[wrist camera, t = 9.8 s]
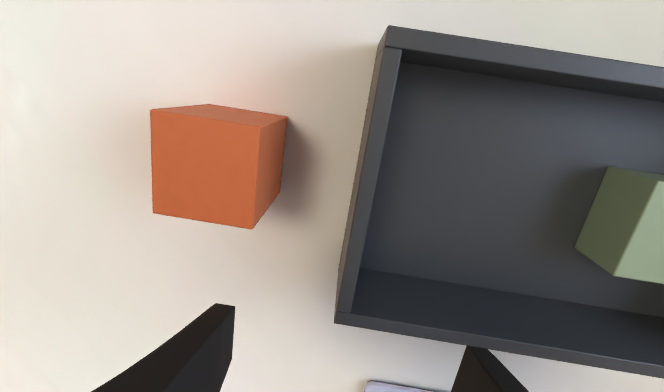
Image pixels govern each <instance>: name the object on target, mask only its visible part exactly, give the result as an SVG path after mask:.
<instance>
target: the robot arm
mask: <svg viewBox="0 0 664 392" xmlns="http://www.w3.org/2000/svg"><path fill="white" fill-rule="evenodd" d="M234 318H235V306H230V305H224V304H218V303H216V304H214V305H213V306H211V307H210V308H209V309H207V310H206V311H205V312H204V313H202V314H201V315H200V316H199V317H197V318H196V319H195V320H194V321H192V322H191V323H190V324H189V325H187V326H186V327H185V328H183V329H182V330H181V331H180V332H178V333H177V334H176V335H174V336H173V337H172V338H170V339H169V340H168V341H166V342H165V343H164V344H162V345H161V346H160V347H158V348H157V349H156V350H154V351H153V352H151V353H150V354H148V355H147V356H146V357H144V358H143V359H141V360H140V361H138V362H137V363H135V364H134V365H132V366H131V367H130V368H128V369H127V370H125V371H124V372H122V373H121V374H119V375H117V376H116V377H114V378H113V379H111V380H110V381H108V382H106V383H105V384H103V385H102V386H100V387H98V388H97V389H95V390H93V391H92V392H220V389H221V387H222V384H223V381H224V379H225V376H226V373H227V371H228V368H229V365H230V362H231V360H232V348H233V333H234ZM364 392H433V391H428V390H422V389H416V388H410V387H404V386H398V385H392V384H386V383H381V382H375V381H370V382H367V383H366V385H365V388H364ZM451 392H529V391H528V390H527V389H526V388H525V387H524V386H523V385H522V384H521V383H520V382H519V381H518V380H517V379H516V378H515V377H514V376H513V375H512V374H511V373H510V372H509V370H508V369H507V368H506V367H505V366H504V365H503V364H502V363H501V362H500V361H499V360H498V359H497V358H496V357H495V356H494V355H493V354H492V353H491V352H490V351H489V350H488V349H486V348H480V347H474V346H468V345H467V347H466V349H465V352H464V355H463V358H462V361H461V364H460V367H459V370H458V373H457V376H456V379H455V382H454V384H453V387H452V390H451Z"/></svg>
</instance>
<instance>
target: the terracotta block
mask: <svg viewBox="0 0 664 392" xmlns="http://www.w3.org/2000/svg"><path fill="white" fill-rule="evenodd" d="M150 120H151V161H152V202H153V213H155V214H161V215H167V216H174V217H180V218H186V219H192V220H198V221H204V222H210V223H216V224H222V225H228V226H235V227H241V228H247V229H253V228H254V227H255V225H256V224H257V222H258V221H259V220H260V218H261V217H262V216H263V214H264V213H265V212H266V210H267V209H268V207H269V206H270V205H271V203H272V202H273V201H274V199H275V198H276V197H277V195H278V194H279V192H280V184H281V174H282V164H283V155H284V145H285V135H286V126H287V117H286V116H281V115H274V114H268V113H262V112H255V111H249V110H243V109H236V108H230V107H224V106H217V105H211V104H205V105H194V106H183V107H172V108H161V109H152V110H150Z"/></svg>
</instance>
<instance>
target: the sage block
mask: <svg viewBox="0 0 664 392" xmlns="http://www.w3.org/2000/svg"><path fill="white" fill-rule="evenodd" d="M574 248H575V249H576V250H578V251H579V252H580V253H582V254H583V255H585V256H586V257H587V258H589V259H590V260H592V261H593V262H594V263H596V264H597V265H599V266H600V267H601V268H603V269H604V270H606V271H607V272H608V273H610V274H611V275H613V276H617V277H623V278H629V279H635V280H641V281H648V282H654V283H660V284H664V175H662V174H656V173H649V172H643V171H637V170H631V169H624V168H618V167H612V166H609V167H608V168H607V171H606V173H605V175H604V178H603V180H602V182H601V185H600V187H599V190H598V192H597V194H596V197H595V199H594V201H593V204H592V206H591V209H590V211H589V213H588V216H587V218H586V221H585V223H584V225H583V228H582V230H581V232H580V235H579V237H578V240H577V242H576V244H575V247H574Z"/></svg>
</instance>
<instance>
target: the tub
mask: <svg viewBox="0 0 664 392" xmlns="http://www.w3.org/2000/svg"><path fill="white" fill-rule="evenodd" d="M609 166H612V167H618V168H624V169H631V170H637V171H643V172H649V173H656V174H662V175H664V67H658V66H652V65H645V64H639V63H632V62H626V61H619V60H613V59H606V58H599V57H593V56H586V55H580V54H573V53H567V52H560V51H554V50H547V49H541V48H534V47H528V46H521V45H515V44H508V43H501V42H495V41H488V40H482V39H475V38H469V37H462V36H456V35H449V34H443V33H436V32H430V31H423V30H416V29H410V28H403V27H397V26H390V25H389V26H388V27H387V29H386V31H385V33H384V35H383V36H382V38H381V40H380V42H379V44H378V48H377V53H376V59H375V65H374V71H373V76H372V82H371V88H370V93H369V99H368V105H367V110H366V116H365V122H364V127H363V133H362V139H361V144H360V150H359V156H358V161H357V167H356V173H355V179H354V184H353V190H352V196H351V201H350V207H349V213H348V218H347V224H346V230H345V235H344V241H343V247H342V252H341V258H340V264H339V270H338V281H337V293H336V304H335V316H334V323H336V324H342V325H348V326H354V327H360V328H366V329H372V330H378V331H384V332H390V333H396V334H402V335H408V336H414V337H419V338H425V339H431V340H437V341H443V342H449V343H455V344H461V345H468V346H474V347H480V348H486V349H491V350H497V351H503V352H509V353H515V354H521V355H527V356H533V357H539V358H545V359H551V360H557V361H563V362H569V363H575V364H581V365H587V366H593V367H598V368H604V369H610V370H616V371H622V372H628V373H634V374H640V375H646V376H652V377H658V378H664V284H660V283H654V282H648V281H641V280H635V279H629V278H623V277H617V276H613V275H611V274H610V273H608V272H607V271H606V270H604V269H603V268H601V267H600V266H599V265H597V264H596V263H594V262H593V261H592V260H590V259H589V258H587V257H586V256H585V255H583V254H582V253H580V252H579V251H578V250H576V249H575V248H574V247H575V244H576V242H577V240H578V237H579V235H580V232H581V230H582V228H583V225H584V223H585V221H586V218H587V216H588V213H589V211H590V209H591V206H592V204H593V201H594V199H595V197H596V194H597V192H598V190H599V187H600V185H601V182H602V180H603V178H604V175H605V173H606V171H607V168H608V167H609Z"/></svg>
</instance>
